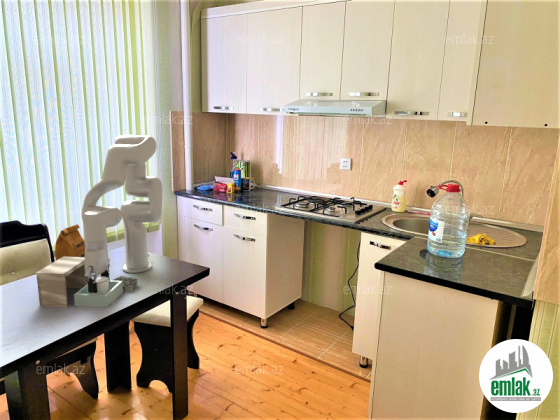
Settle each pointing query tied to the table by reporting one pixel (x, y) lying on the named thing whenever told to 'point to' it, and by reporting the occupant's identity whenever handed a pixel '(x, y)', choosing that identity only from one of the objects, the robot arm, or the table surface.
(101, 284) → the shot glass
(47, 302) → the beige wooden block
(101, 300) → the tray
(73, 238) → the coffee package
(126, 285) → the egg carton
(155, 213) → the robot arm
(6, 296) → the table surface
